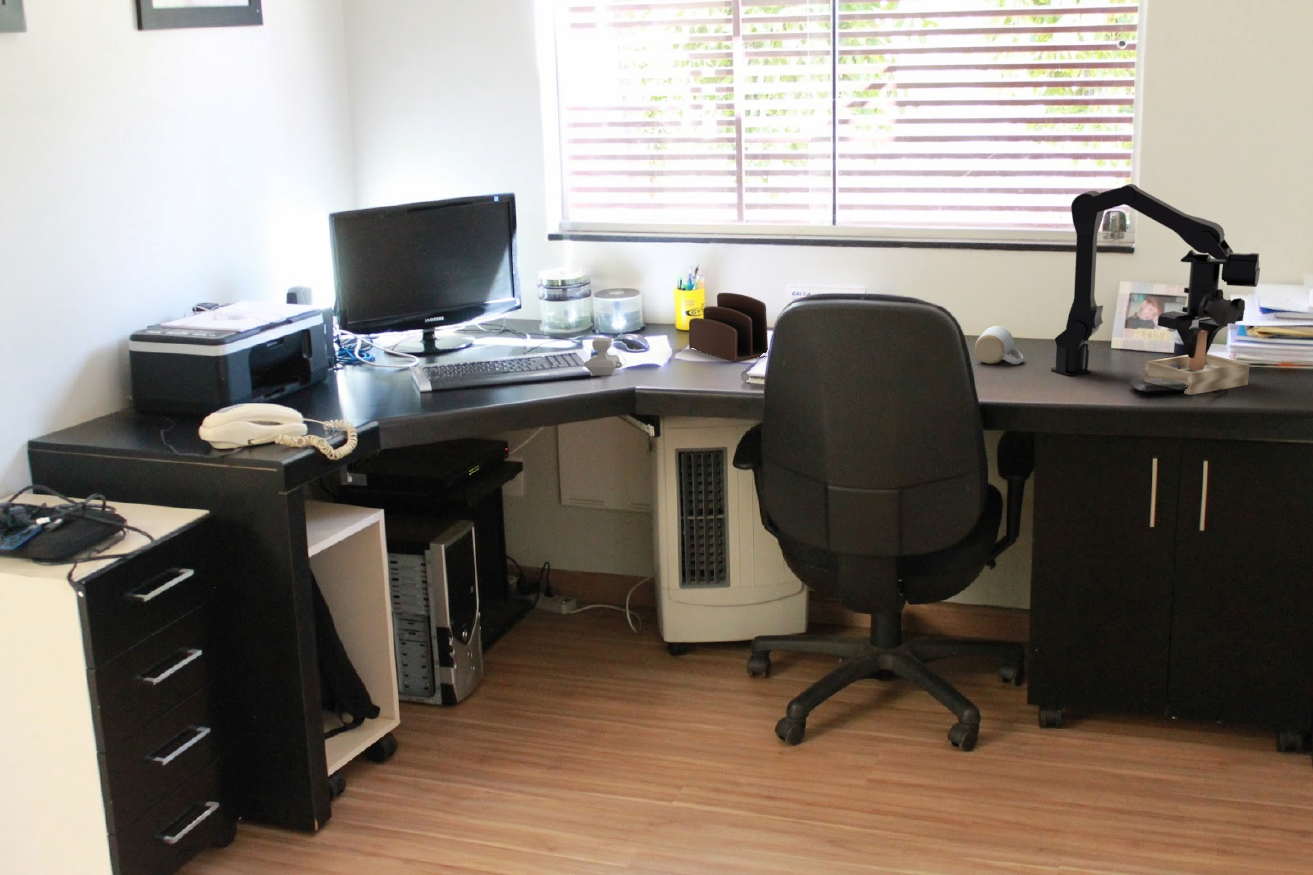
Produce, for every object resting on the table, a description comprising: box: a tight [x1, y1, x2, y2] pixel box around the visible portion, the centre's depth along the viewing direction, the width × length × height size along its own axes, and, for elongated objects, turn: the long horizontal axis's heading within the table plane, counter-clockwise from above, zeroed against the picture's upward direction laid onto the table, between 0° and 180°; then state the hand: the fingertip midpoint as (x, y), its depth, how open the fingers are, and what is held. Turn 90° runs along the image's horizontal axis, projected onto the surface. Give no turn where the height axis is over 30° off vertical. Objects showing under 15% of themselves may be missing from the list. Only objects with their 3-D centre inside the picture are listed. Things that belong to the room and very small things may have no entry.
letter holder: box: [688, 292, 769, 363], centre depth 323 cm, size 10×20×14 cm, turn 33°
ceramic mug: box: [974, 325, 1024, 365], centre depth 305 cm, size 11×8×8 cm
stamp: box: [583, 337, 623, 376], centre depth 306 cm, size 9×7×8 cm
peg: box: [1189, 330, 1207, 370], centre depth 279 cm, size 3×3×8 cm
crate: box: [1144, 353, 1251, 396], centre depth 281 cm, size 16×13×4 cm
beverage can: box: [1173, 309, 1198, 357], centre depth 297 cm, size 6×6×12 cm
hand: (1197, 356), depth 280 cm, fingers closed on peg, 3 cm apart
